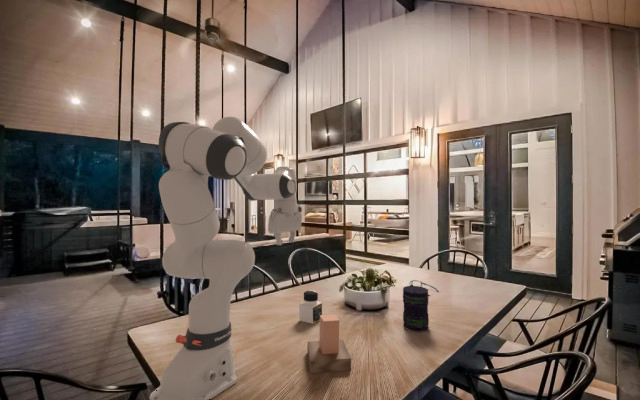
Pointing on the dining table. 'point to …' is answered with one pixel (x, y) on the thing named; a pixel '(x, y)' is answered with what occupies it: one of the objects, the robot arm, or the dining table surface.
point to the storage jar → (415, 308)
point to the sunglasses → (421, 285)
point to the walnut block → (328, 359)
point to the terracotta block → (329, 334)
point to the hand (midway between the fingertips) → (285, 243)
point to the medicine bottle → (310, 307)
